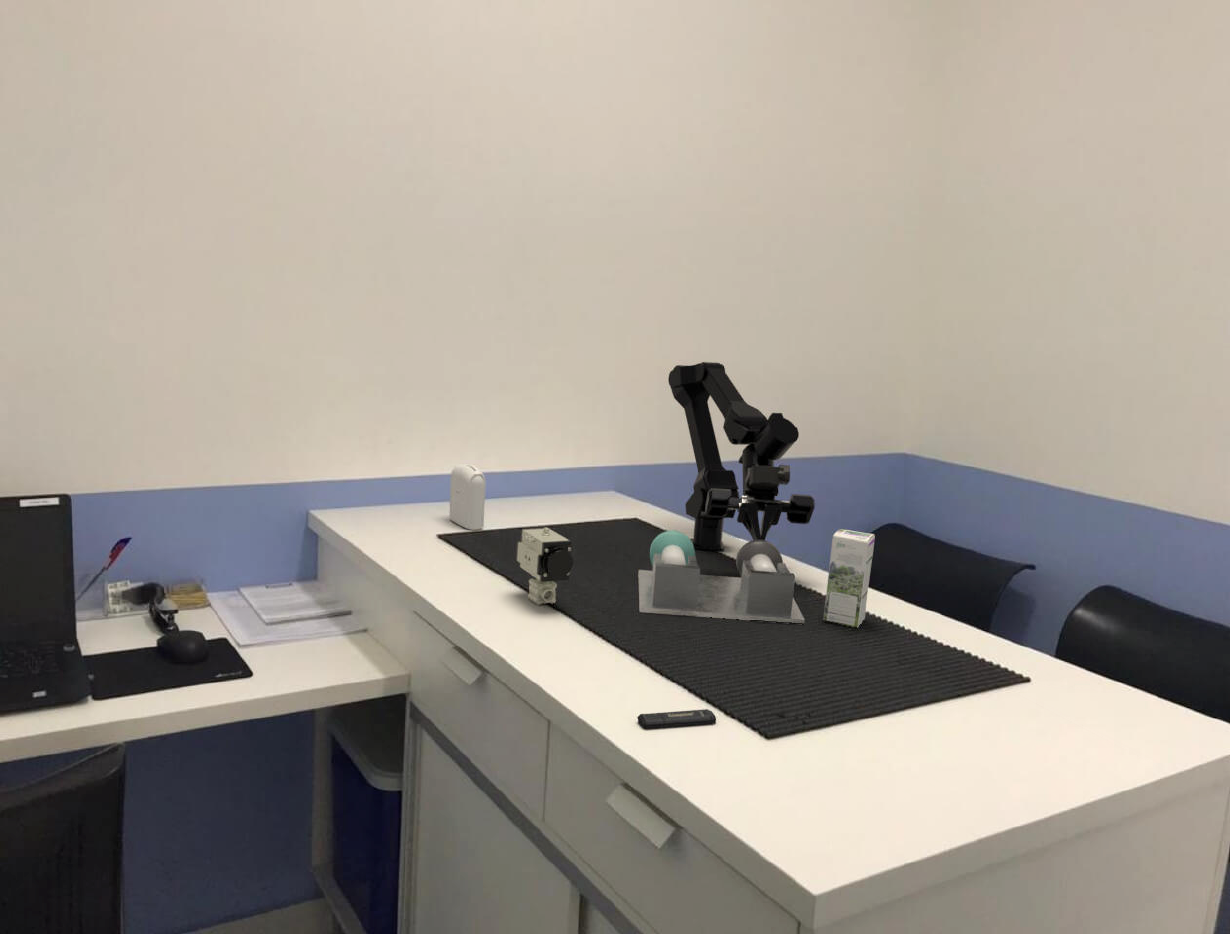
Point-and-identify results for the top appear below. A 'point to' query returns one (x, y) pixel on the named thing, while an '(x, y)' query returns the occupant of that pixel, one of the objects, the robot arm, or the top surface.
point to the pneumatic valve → (544, 561)
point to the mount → (718, 592)
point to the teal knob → (672, 548)
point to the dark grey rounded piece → (759, 556)
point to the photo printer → (467, 496)
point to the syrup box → (848, 577)
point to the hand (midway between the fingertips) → (760, 546)
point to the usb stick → (676, 719)
